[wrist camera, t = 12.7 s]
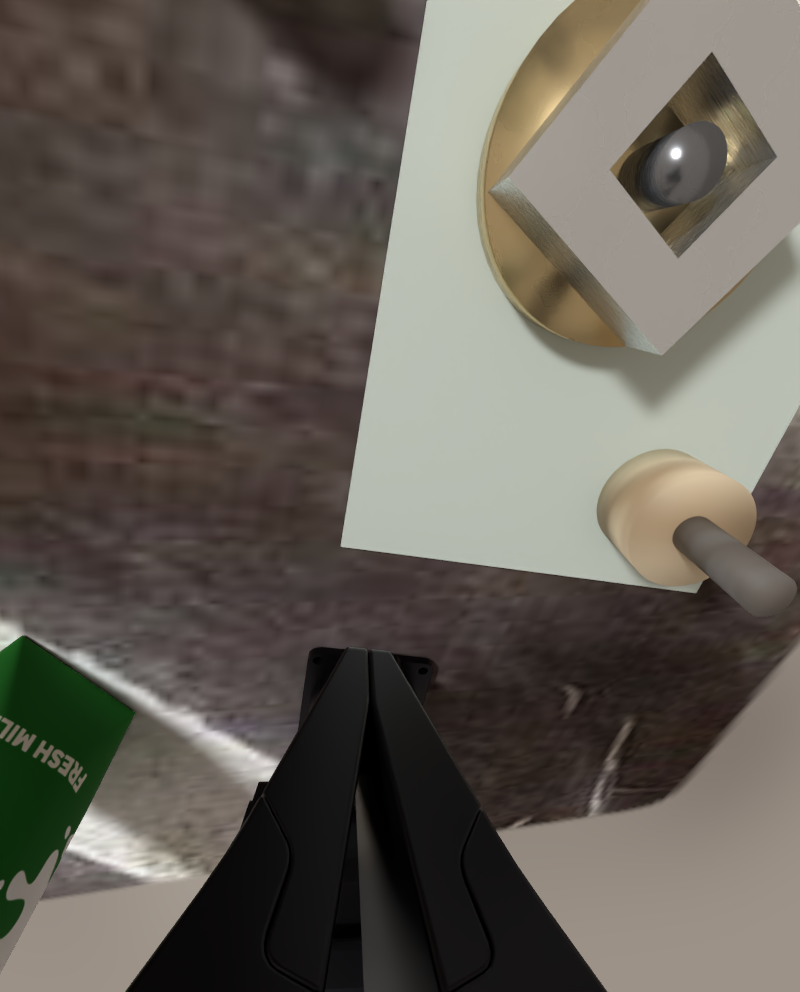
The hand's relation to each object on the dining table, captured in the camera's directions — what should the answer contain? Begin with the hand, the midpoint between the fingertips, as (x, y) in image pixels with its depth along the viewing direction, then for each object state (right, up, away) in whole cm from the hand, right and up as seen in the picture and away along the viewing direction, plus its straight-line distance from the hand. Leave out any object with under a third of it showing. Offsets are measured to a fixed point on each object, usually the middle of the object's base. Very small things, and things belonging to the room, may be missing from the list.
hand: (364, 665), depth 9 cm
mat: (+9, +9, +9) cm, 16 cm away
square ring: (+8, +13, +6) cm, 16 cm away
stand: (+12, +3, +12) cm, 17 cm away
